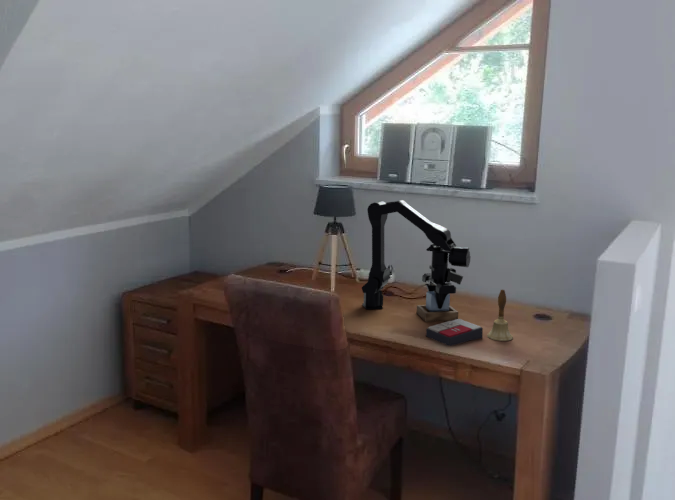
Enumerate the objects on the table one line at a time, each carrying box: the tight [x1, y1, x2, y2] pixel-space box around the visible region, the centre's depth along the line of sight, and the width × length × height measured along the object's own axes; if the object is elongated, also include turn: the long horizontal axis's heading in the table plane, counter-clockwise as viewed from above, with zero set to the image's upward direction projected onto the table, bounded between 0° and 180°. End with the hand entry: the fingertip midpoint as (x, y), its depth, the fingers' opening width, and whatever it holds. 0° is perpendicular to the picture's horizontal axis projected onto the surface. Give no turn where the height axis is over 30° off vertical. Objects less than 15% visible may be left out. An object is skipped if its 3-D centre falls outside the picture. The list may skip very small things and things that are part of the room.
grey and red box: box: [425, 318, 484, 347], centre depth 217 cm, size 11×4×15 cm
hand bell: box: [486, 289, 514, 342], centre depth 216 cm, size 8×8×16 cm
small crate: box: [425, 290, 451, 312], centre depth 237 cm, size 7×5×6 cm
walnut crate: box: [416, 304, 459, 323], centre depth 238 cm, size 12×10×3 cm
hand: (437, 306), depth 237 cm, fingers closed on small crate, 5 cm apart
